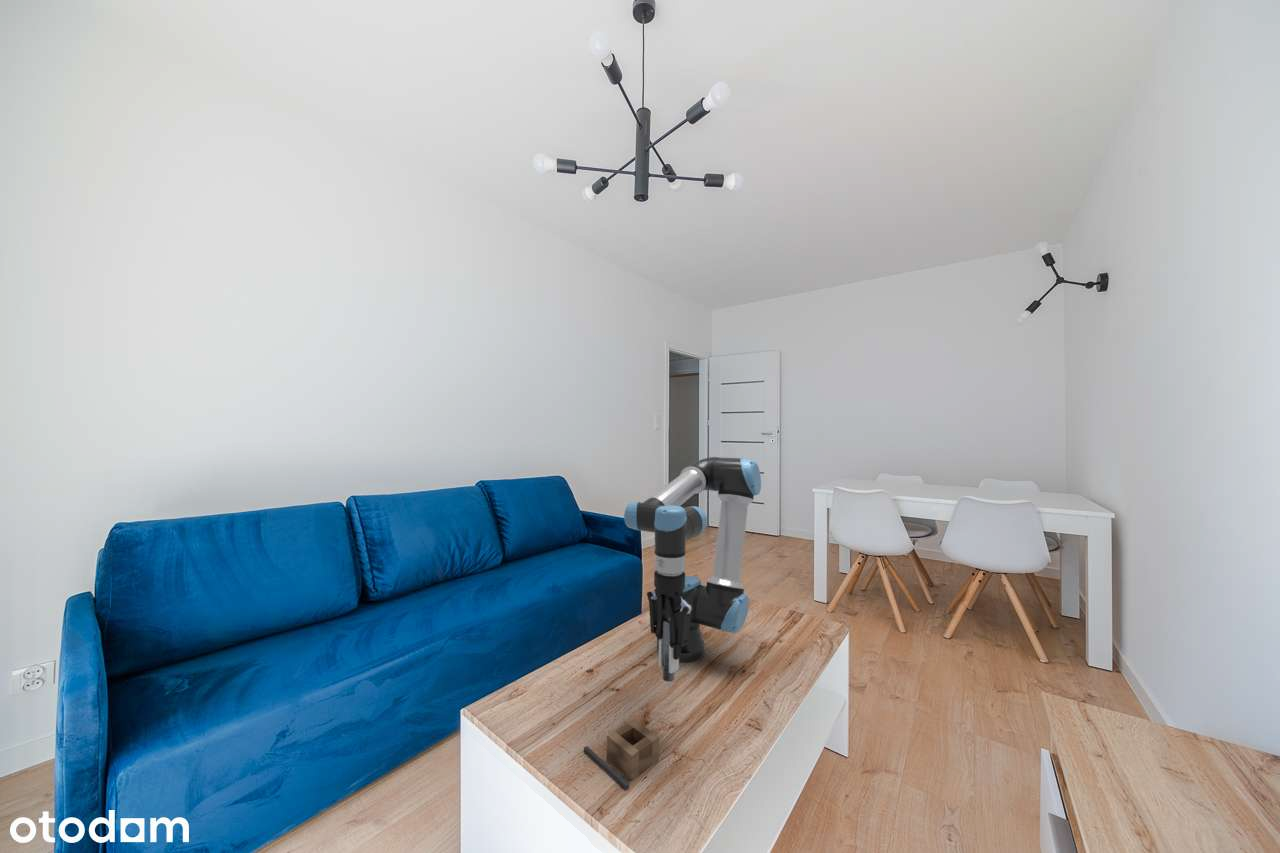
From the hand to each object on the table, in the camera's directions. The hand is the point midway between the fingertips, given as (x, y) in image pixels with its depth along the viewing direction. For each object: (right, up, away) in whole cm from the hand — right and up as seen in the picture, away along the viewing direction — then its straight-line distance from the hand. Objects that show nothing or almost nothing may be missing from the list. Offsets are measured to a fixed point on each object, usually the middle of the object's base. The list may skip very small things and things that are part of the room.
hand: (668, 667), depth 105 cm
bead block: (-9, -14, -11) cm, 20 cm away
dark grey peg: (0, -3, 0) cm, 3 cm away
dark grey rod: (-14, -14, -14) cm, 24 cm away
